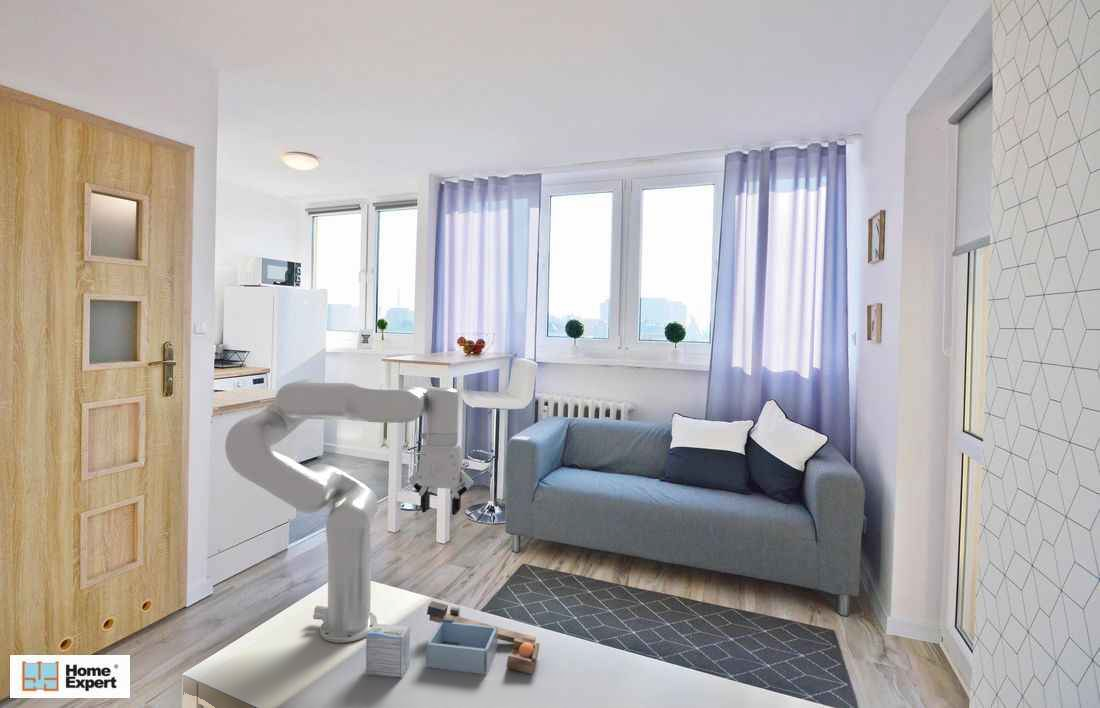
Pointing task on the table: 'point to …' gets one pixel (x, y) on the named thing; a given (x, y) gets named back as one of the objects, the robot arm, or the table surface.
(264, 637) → the table surface
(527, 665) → the lever
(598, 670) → the table surface
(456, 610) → the fulcrum
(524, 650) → the ball
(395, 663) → the medicine box
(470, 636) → the bin
